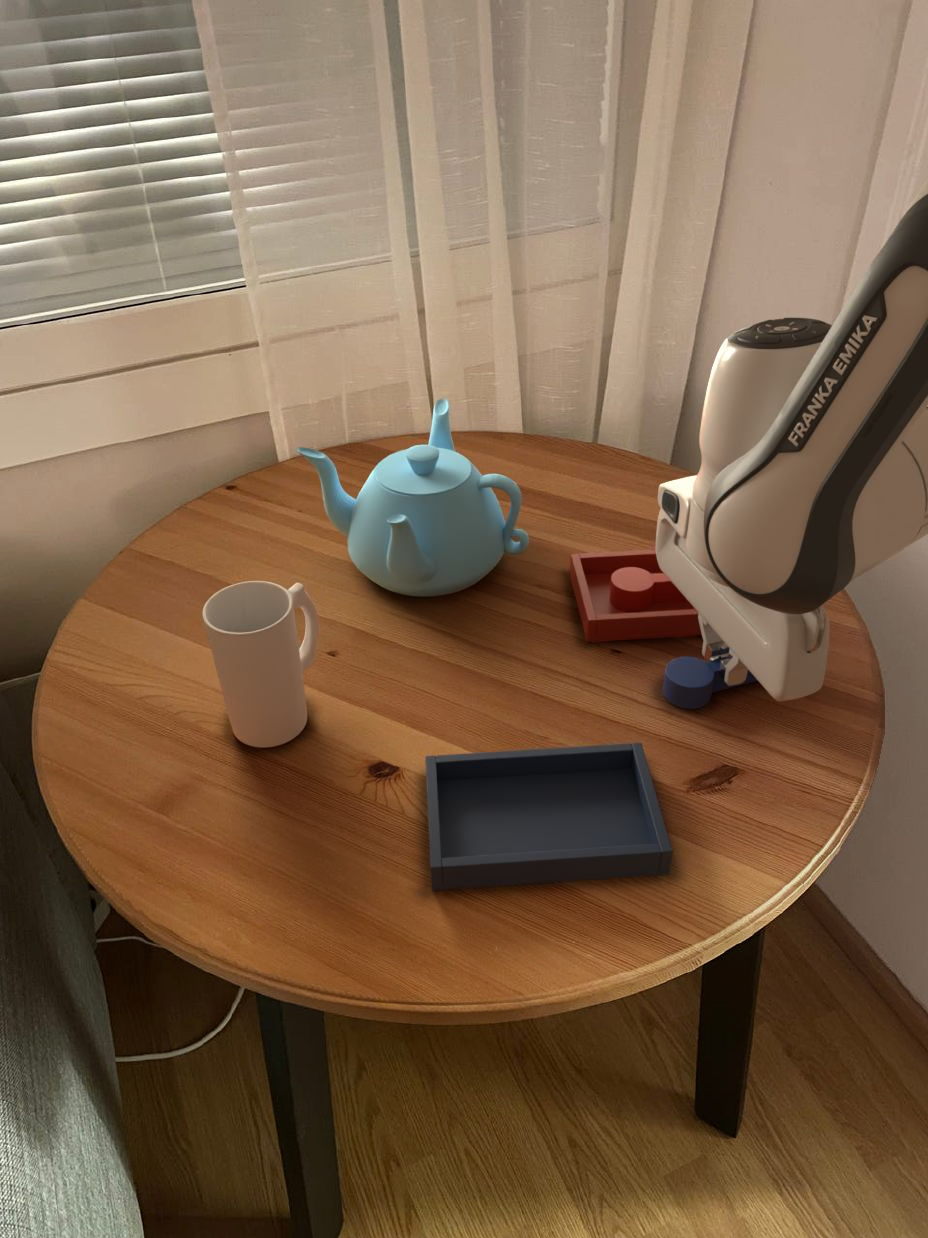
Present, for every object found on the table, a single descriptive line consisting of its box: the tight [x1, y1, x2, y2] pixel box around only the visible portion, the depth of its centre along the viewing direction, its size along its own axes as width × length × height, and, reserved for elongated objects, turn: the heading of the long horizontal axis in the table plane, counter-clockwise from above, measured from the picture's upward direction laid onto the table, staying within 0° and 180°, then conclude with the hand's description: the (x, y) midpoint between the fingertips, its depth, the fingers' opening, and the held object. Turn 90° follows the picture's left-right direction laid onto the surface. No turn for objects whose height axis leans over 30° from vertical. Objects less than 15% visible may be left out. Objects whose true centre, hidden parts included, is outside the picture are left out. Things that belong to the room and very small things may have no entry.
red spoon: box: [609, 567, 688, 612], centre depth 94 cm, size 13×4×2 cm, turn 93°
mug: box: [202, 580, 319, 748], centre depth 81 cm, size 10×7×12 cm, turn 143°
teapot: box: [296, 398, 530, 598], centre depth 98 cm, size 17×19×12 cm
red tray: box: [569, 548, 702, 643], centre depth 94 cm, size 17×11×2 cm, turn 94°
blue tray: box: [424, 742, 673, 892], centre depth 73 cm, size 17×11×2 cm, turn 94°
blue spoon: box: [662, 655, 759, 710], centre depth 85 cm, size 13×4×2 cm, turn 108°
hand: (722, 669), depth 85 cm, fingers closed on blue spoon, 1 cm apart
